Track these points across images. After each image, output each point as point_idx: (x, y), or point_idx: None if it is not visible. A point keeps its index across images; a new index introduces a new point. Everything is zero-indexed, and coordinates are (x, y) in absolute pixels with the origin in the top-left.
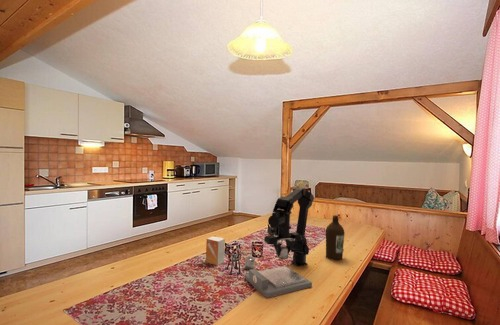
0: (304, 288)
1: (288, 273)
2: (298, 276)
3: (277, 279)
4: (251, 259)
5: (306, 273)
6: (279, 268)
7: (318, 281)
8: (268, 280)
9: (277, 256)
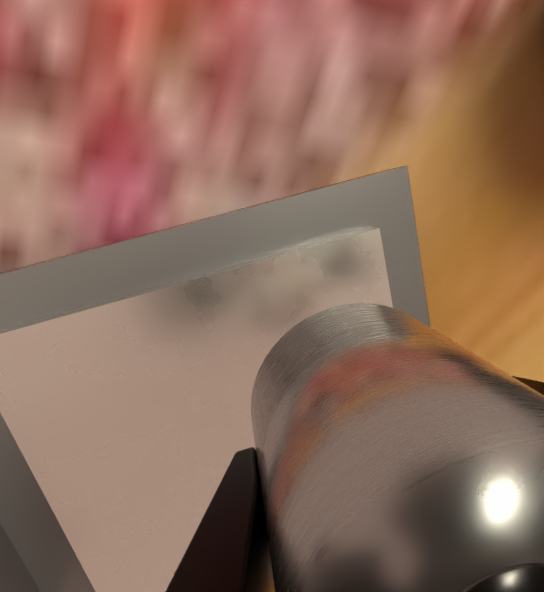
0: None
1: None
2: None
3: (167, 538)
4: None
5: (535, 285)
6: (280, 287)
7: None
8: (72, 536)
9: (256, 385)
